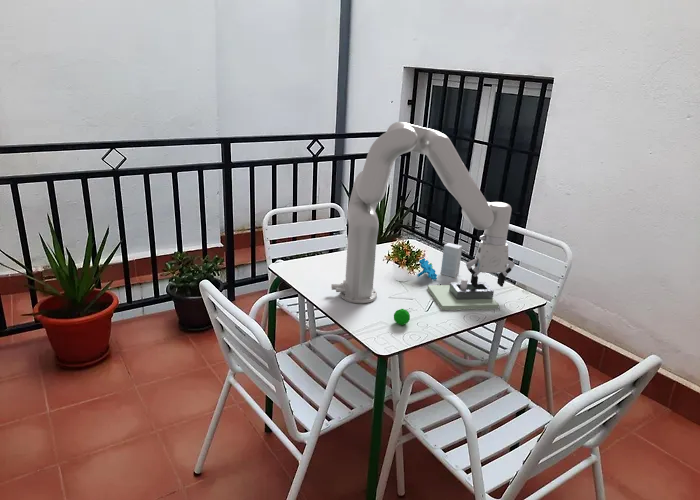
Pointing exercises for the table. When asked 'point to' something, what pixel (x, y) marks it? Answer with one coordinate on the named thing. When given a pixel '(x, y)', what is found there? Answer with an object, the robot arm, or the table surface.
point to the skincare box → (451, 259)
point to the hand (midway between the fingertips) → (487, 285)
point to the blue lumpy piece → (427, 269)
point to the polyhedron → (401, 316)
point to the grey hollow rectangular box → (471, 291)
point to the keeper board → (450, 302)
